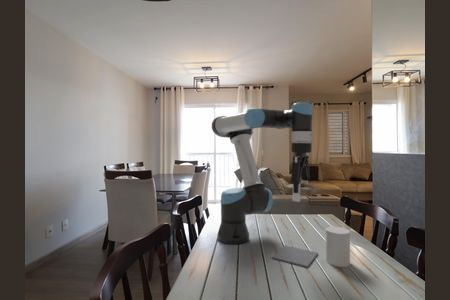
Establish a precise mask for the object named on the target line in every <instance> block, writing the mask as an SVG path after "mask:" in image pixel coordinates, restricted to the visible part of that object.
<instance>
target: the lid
mask: <svg viewBox="0 0 450 300" xmlns="http://www.w3.org/2000/svg"><path fill="white" fill-rule="evenodd" d="M300 184H301V185H300V196H301V195H303V196H302V197H305V196H308V197H312V196H313V195H314V194H316V193H317V192H318V190H317V189H318V186H317V185H312V184H308V185H305V183H301V182H300ZM283 194H287V195H293V184H290V183H289V184H287V185H286V186H284V187H283Z"/></svg>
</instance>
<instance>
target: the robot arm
mask: <svg viewBox="0 0 450 300" xmlns="http://www.w3.org/2000/svg"><path fill="white" fill-rule="evenodd" d="M312 123H313V105H312V103H310V102H306V101H305V102H302V101H301V102H294V103H292V105H291V109H287V110H278V109H267V108H259V107H252V108H251V107H250V108H248V109H247V111H246V112H241V113H238V114H233V115H229V116H227V115H220V116H217V117H215V118H214V119H212V123H211V130H212V132H213V133H214V134H215V135H216V136H218V137H220V138H229V140H230V143H231V144H233V146H234V148H235V153H236V156H237V160H238V166H239V169H240V173H241V177H242V178H241V179H242V182H243V184H244V185H243V187H236V188H235V187H234V188H228V189H225V190H223V192H222V193H221V194H220V220H221V221H220V225H219V228H218V232H217V240H218V242H220V243H223V244H226V245H240V244H244V243H247V242H249V241H250V232H249V229H248V226H247V221H246V220H247V219H246V216H249V215H254V214H263V213H265V212H266V213H267V212H268V211H270V210H271V208H272V205H273V204H274V203H273V202H274V195H273V193H272V190H270V189H269V188H266V186H265V183H263V182H262V181H261V178H260V175H259V171H258V167H257V163H256V161H255V157H254V153H253V150H252V145H251V142H250V140H251V139H252V135H253V133H254V131H253V130H254V129H259V128H260V129H261V128H268V129H276V130H277V129H278V130H285V129H291V142H292V143H291V152H292V153H295V156H293V157H292V166H291V174H290V175H291V178H290V182H289V185H290V184H293V194H292V202H298V203H300V202H301V197H309V196H303V195H300V185H301V184H300V183H305V185H309V181H311V178H310V164H309V163H310V161H309V159H310V155H307V154H310V153H312V146H313V145H312V139H313V138H312V137H314V134H313V133H312V131H313V130H312V127H313V124H312Z"/></svg>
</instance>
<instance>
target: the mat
mask: <svg viewBox="0 0 450 300" xmlns="http://www.w3.org/2000/svg"><path fill="white" fill-rule="evenodd" d="M318 254H319V252H317V251H313V250H307V249H303V248H300V247H299V248H298V247H296V246H295V247H293V246H289V245H283V246H282V247H281V248H280V249H278V251H277V252H275V253H273V255H272V256H271V259H273V260H276V261H279V262H280V261H281V262H285V263H289V264H293V265H296V266H300V267H304V268H307V269H308V268H309V267H310V265H312V262H314V260H315V259H316V258H317V256H318Z"/></svg>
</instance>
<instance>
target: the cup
mask: <svg viewBox="0 0 450 300" xmlns="http://www.w3.org/2000/svg"><path fill="white" fill-rule="evenodd" d="M350 235H351V232H350V230H349V229H347V228H345V227H339V226H328V227H326V228H325V261H326V262H327V263H328V264H329V265H331V266H333V267H340V268H346V267H349V266H350V264H351V258H350V257H351V256H350V255H351V251H350V250H351V240H350V238H351V237H350Z"/></svg>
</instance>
